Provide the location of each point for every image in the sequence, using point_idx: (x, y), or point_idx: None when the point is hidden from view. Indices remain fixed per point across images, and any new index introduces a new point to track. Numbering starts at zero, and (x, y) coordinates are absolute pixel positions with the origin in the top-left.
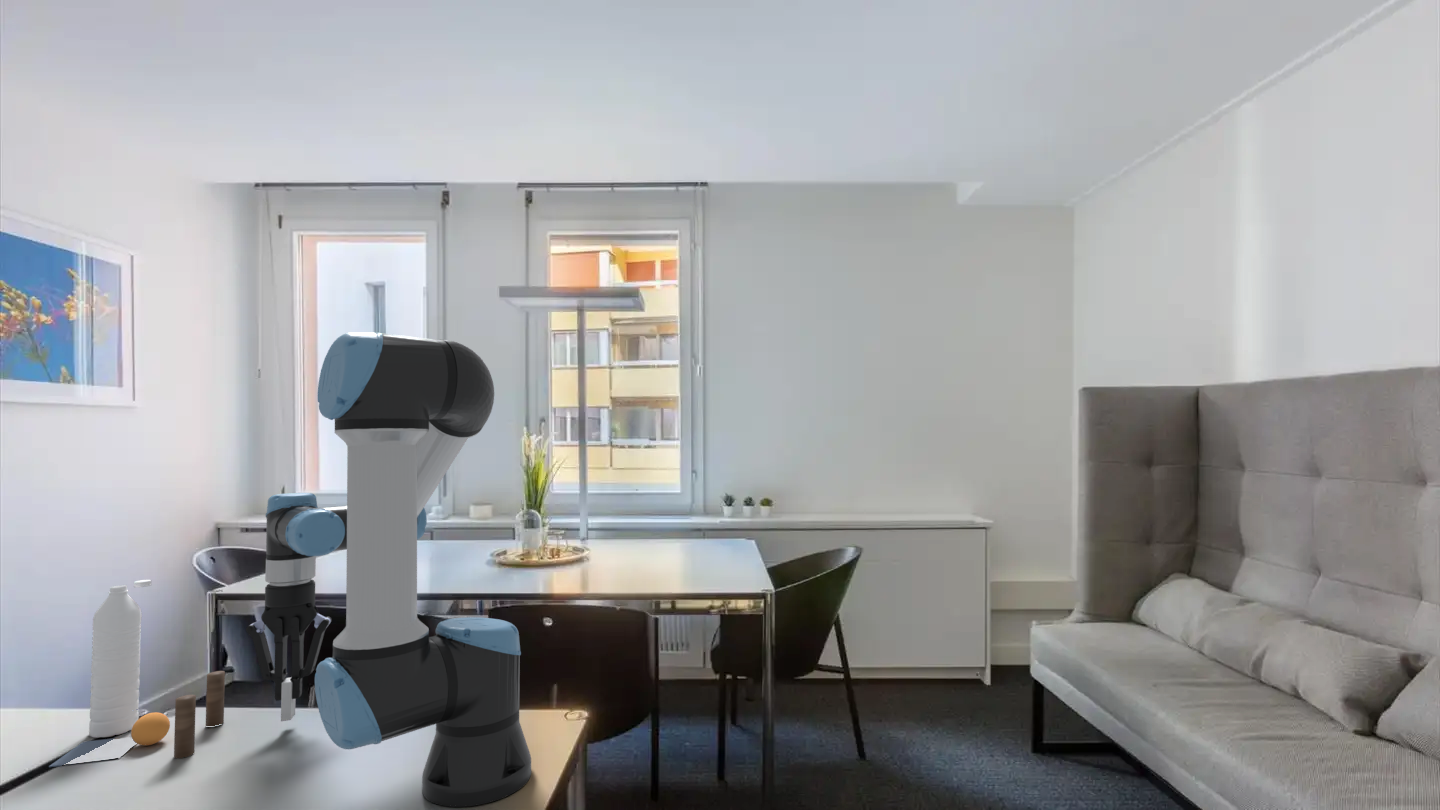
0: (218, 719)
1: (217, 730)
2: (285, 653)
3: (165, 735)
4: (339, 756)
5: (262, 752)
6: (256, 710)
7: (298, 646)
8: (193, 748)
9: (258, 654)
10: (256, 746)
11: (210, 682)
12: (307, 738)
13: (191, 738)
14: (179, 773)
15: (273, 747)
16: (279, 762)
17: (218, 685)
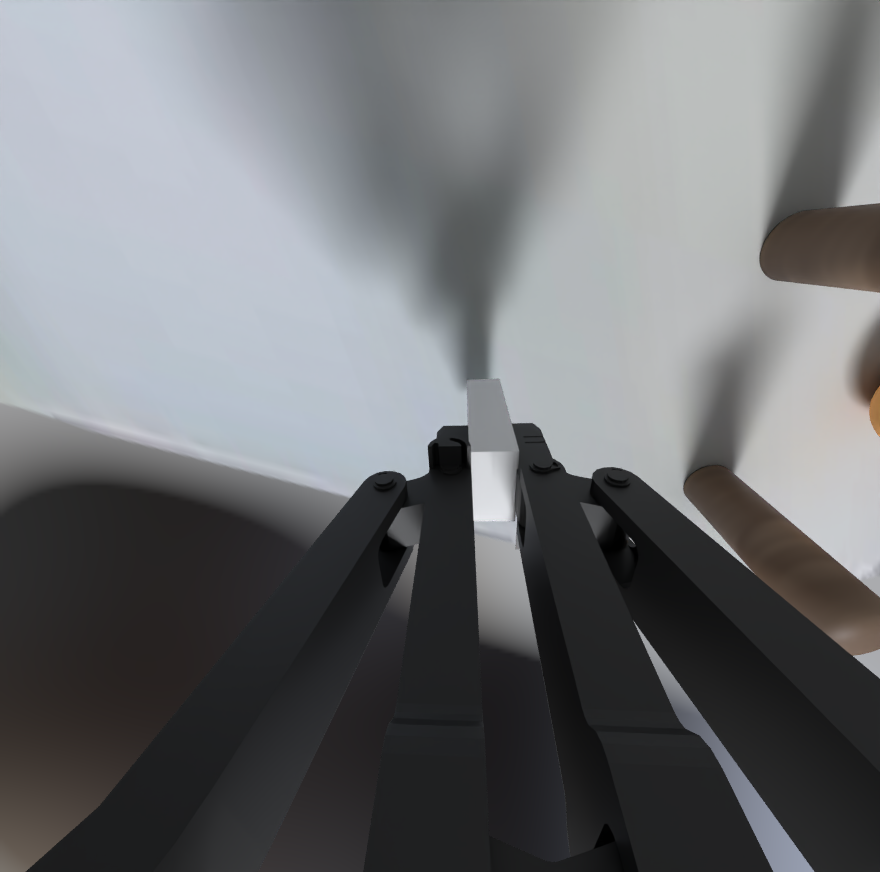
0: (709, 483)
1: (696, 442)
2: (542, 631)
3: (874, 399)
4: (167, 12)
5: (511, 179)
6: None
7: (415, 653)
8: (779, 244)
9: (785, 613)
10: (547, 256)
11: (857, 583)
12: (386, 283)
13: (829, 228)
14: (815, 6)
15: (483, 224)
16: (408, 16)
17: (805, 571)
